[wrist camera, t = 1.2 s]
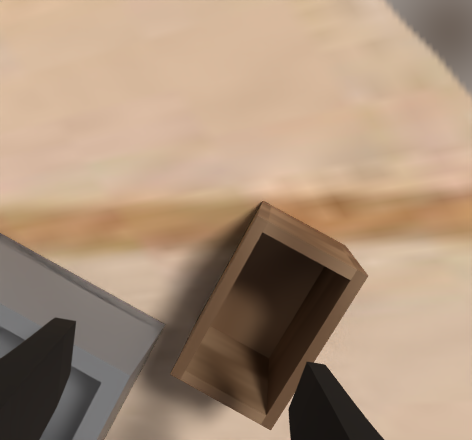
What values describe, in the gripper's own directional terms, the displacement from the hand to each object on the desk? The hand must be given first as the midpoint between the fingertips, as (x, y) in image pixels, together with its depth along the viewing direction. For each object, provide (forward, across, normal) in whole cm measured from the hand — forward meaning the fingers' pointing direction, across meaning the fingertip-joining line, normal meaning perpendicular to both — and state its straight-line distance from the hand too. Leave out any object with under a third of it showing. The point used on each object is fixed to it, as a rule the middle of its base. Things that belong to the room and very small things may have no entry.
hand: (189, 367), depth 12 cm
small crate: (+9, -4, +2) cm, 10 cm away
